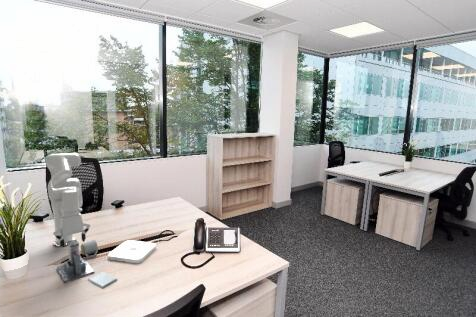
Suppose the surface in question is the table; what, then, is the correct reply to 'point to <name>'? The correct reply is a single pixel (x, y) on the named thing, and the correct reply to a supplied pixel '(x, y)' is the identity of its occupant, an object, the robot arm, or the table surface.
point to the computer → (132, 251)
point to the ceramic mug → (89, 248)
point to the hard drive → (102, 279)
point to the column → (73, 250)
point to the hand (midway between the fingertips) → (73, 243)
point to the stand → (74, 269)
